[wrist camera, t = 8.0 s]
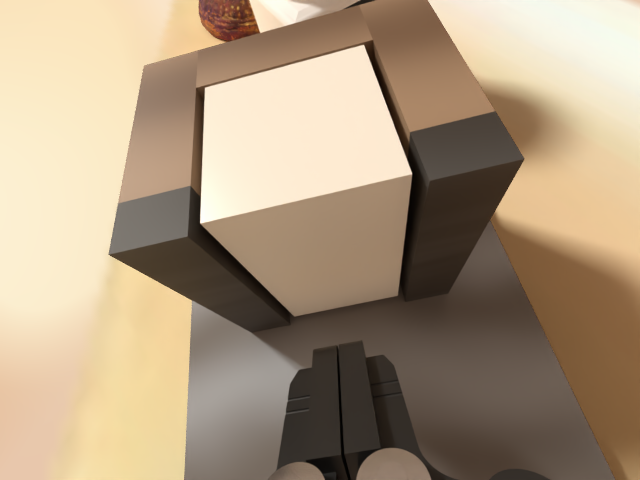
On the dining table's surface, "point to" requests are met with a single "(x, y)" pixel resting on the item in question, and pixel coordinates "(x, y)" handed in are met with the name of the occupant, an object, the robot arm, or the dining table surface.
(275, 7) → the medicine bottle
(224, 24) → the bell
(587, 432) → the u-shaped block stand
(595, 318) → the dining table surface
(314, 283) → the peg
